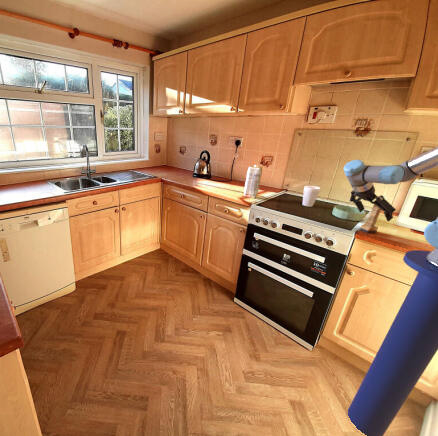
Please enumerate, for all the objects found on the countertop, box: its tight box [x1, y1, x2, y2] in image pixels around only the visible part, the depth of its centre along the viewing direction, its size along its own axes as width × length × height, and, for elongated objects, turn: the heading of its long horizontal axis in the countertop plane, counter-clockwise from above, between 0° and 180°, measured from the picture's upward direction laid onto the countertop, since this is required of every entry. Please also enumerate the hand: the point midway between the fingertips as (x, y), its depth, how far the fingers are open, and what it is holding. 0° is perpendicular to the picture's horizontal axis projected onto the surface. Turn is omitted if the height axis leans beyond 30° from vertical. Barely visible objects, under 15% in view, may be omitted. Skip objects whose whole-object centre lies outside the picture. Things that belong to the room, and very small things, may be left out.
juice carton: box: [243, 164, 263, 199], centre depth 183 cm, size 9×8×24 cm
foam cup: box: [301, 185, 322, 208], centre depth 168 cm, size 10×9×13 cm
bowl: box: [331, 204, 367, 222], centre depth 149 cm, size 15×16×5 cm
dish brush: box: [359, 204, 382, 234], centre depth 127 cm, size 6×4×15 cm, turn 103°
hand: (375, 214), depth 126 cm, fingers open, 13 cm apart
